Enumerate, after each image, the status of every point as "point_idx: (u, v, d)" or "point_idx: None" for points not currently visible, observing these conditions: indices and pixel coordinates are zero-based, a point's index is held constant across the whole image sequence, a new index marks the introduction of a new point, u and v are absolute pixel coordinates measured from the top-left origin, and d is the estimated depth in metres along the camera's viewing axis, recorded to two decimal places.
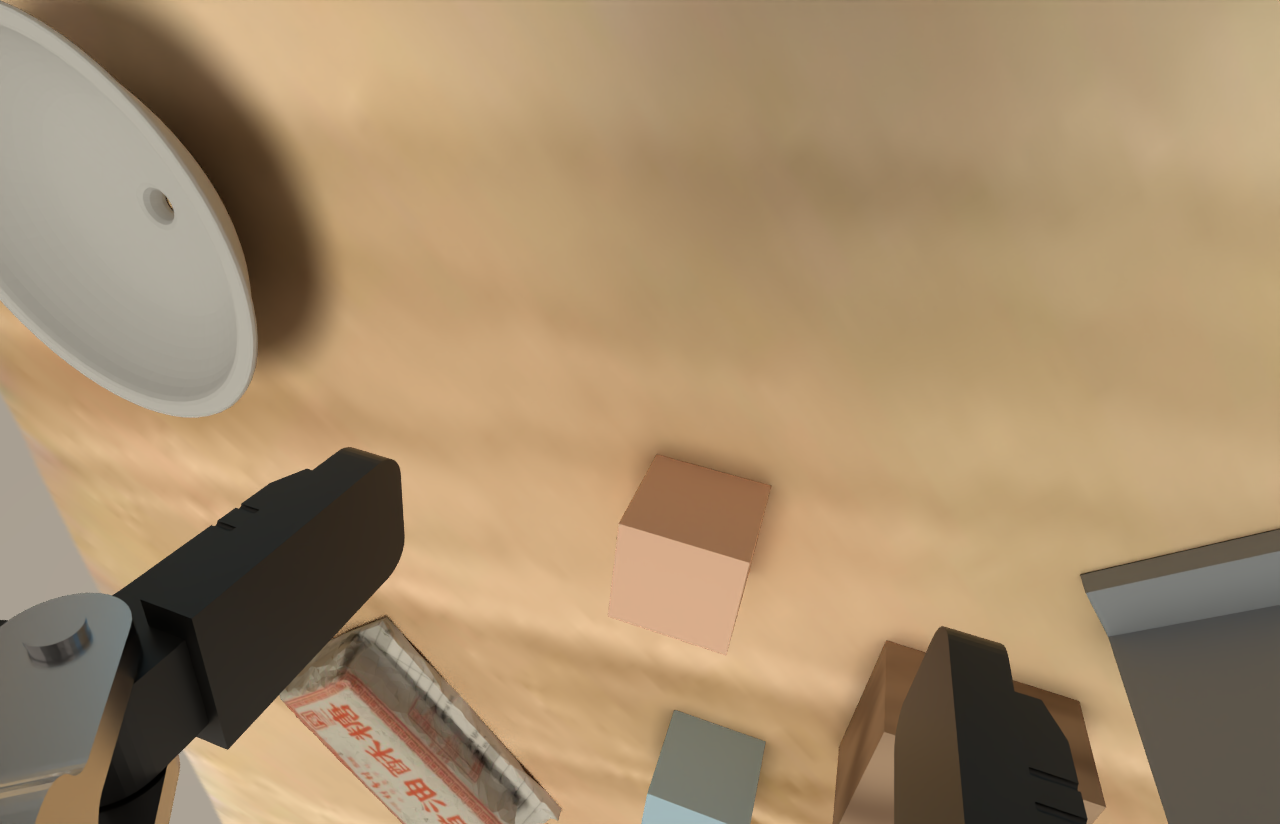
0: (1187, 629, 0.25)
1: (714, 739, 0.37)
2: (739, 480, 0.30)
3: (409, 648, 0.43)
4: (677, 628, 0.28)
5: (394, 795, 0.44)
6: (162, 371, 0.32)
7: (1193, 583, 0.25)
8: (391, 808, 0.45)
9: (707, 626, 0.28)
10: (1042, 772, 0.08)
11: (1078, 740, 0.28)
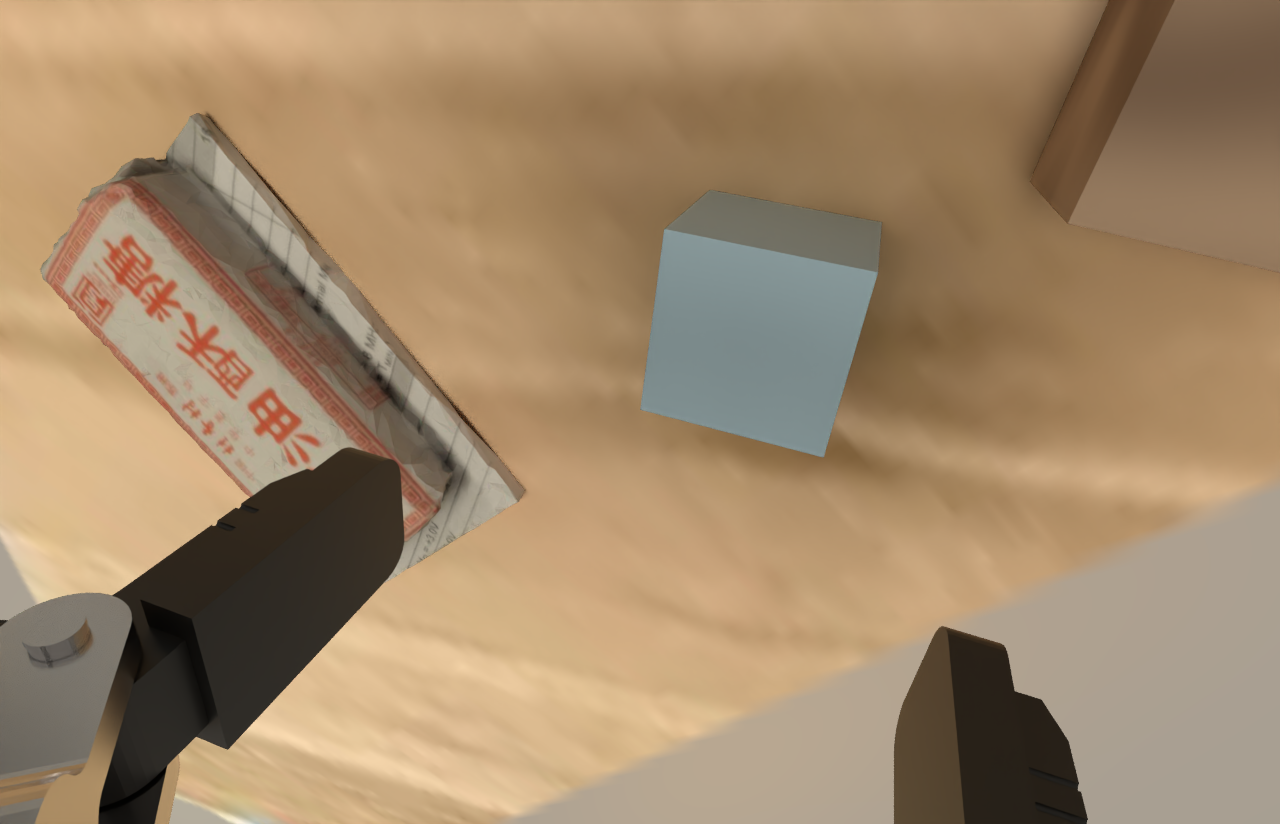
0: None
1: (787, 211, 0.20)
2: None
3: (249, 171, 0.25)
4: None
5: (239, 442, 0.26)
6: None
7: None
8: (239, 477, 0.27)
9: None
10: (1042, 772, 0.08)
11: None
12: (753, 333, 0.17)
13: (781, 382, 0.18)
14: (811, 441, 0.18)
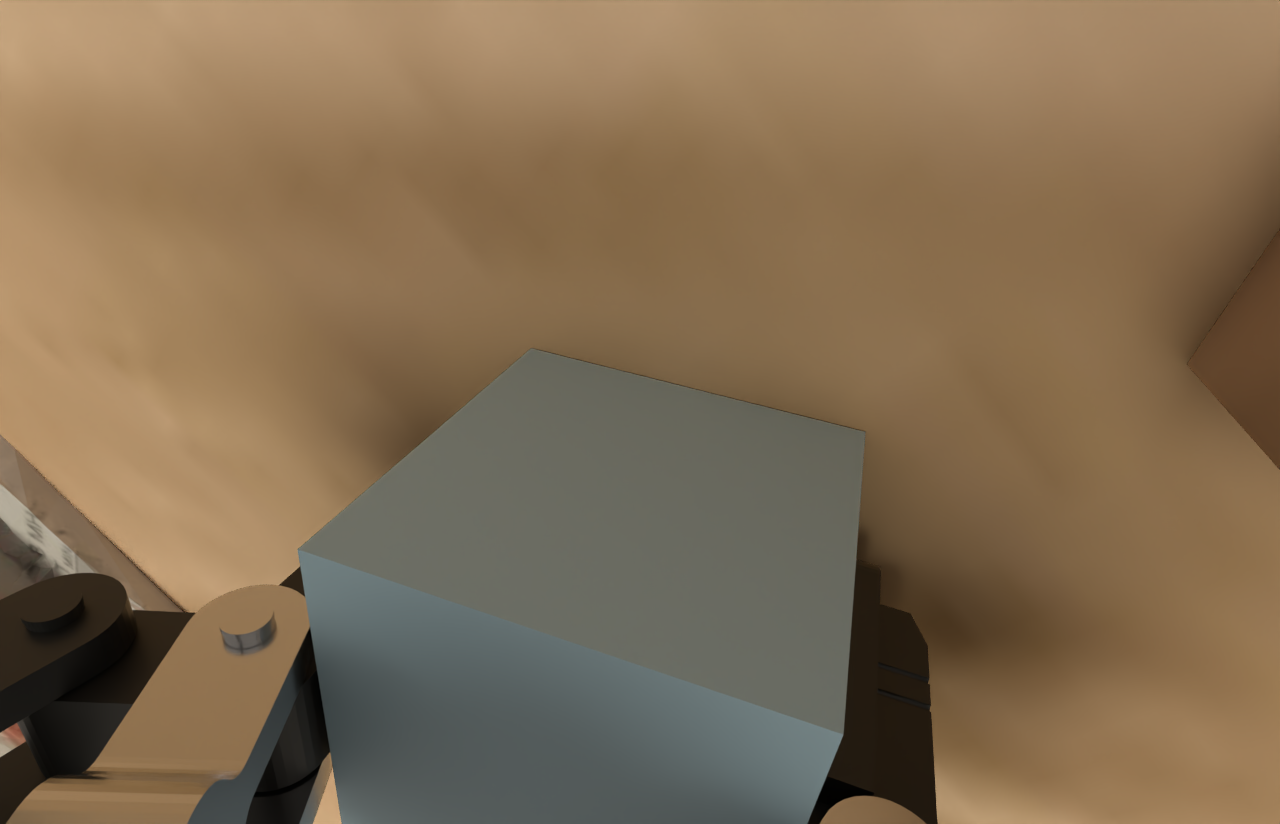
0: None
1: (666, 417, 0.09)
2: None
3: None
4: None
5: None
6: None
7: None
8: None
9: None
10: (898, 669, 0.09)
11: None
12: (543, 784, 0.07)
13: None
14: None
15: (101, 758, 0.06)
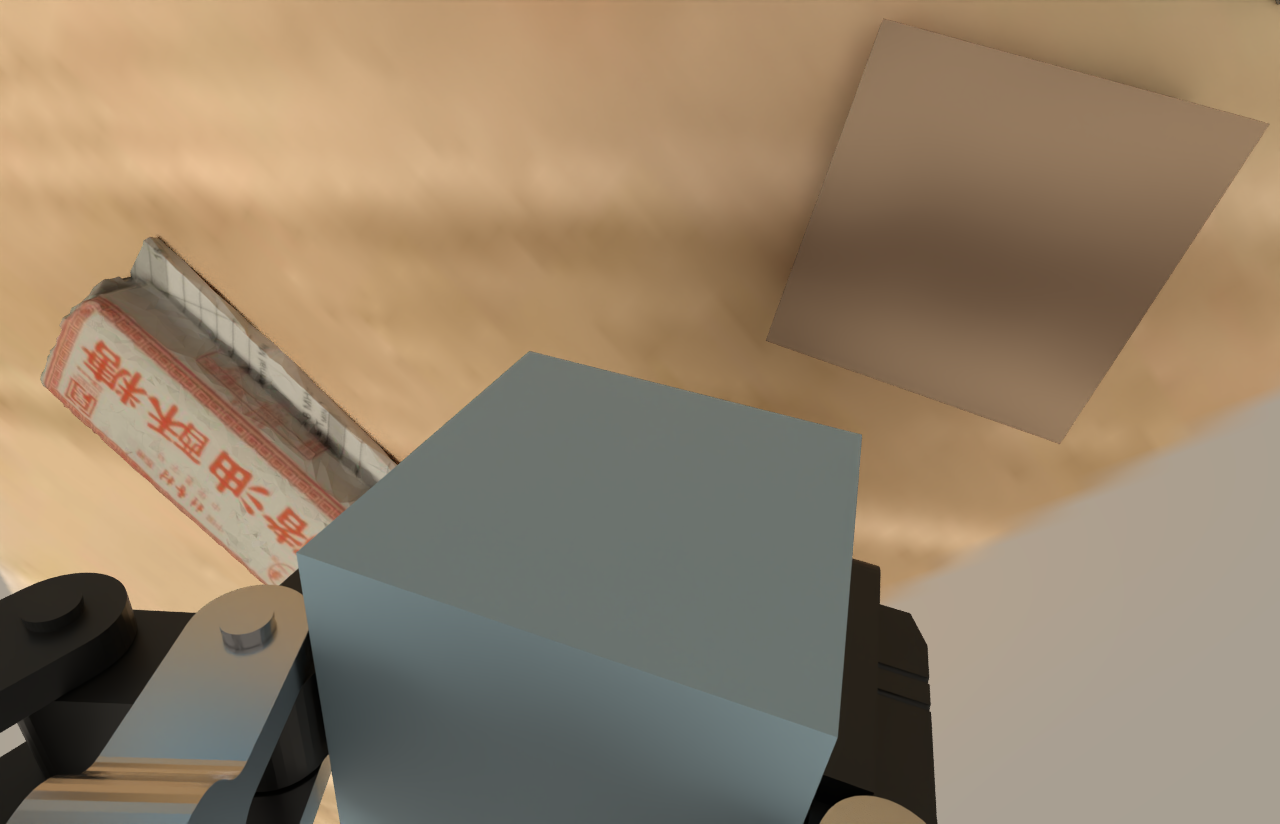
0: None
1: (664, 420, 0.09)
2: None
3: (195, 277, 0.31)
4: None
5: (206, 500, 0.31)
6: None
7: None
8: (212, 531, 0.32)
9: None
10: (897, 668, 0.09)
11: None
12: (540, 787, 0.07)
13: None
14: None
15: (101, 758, 0.06)
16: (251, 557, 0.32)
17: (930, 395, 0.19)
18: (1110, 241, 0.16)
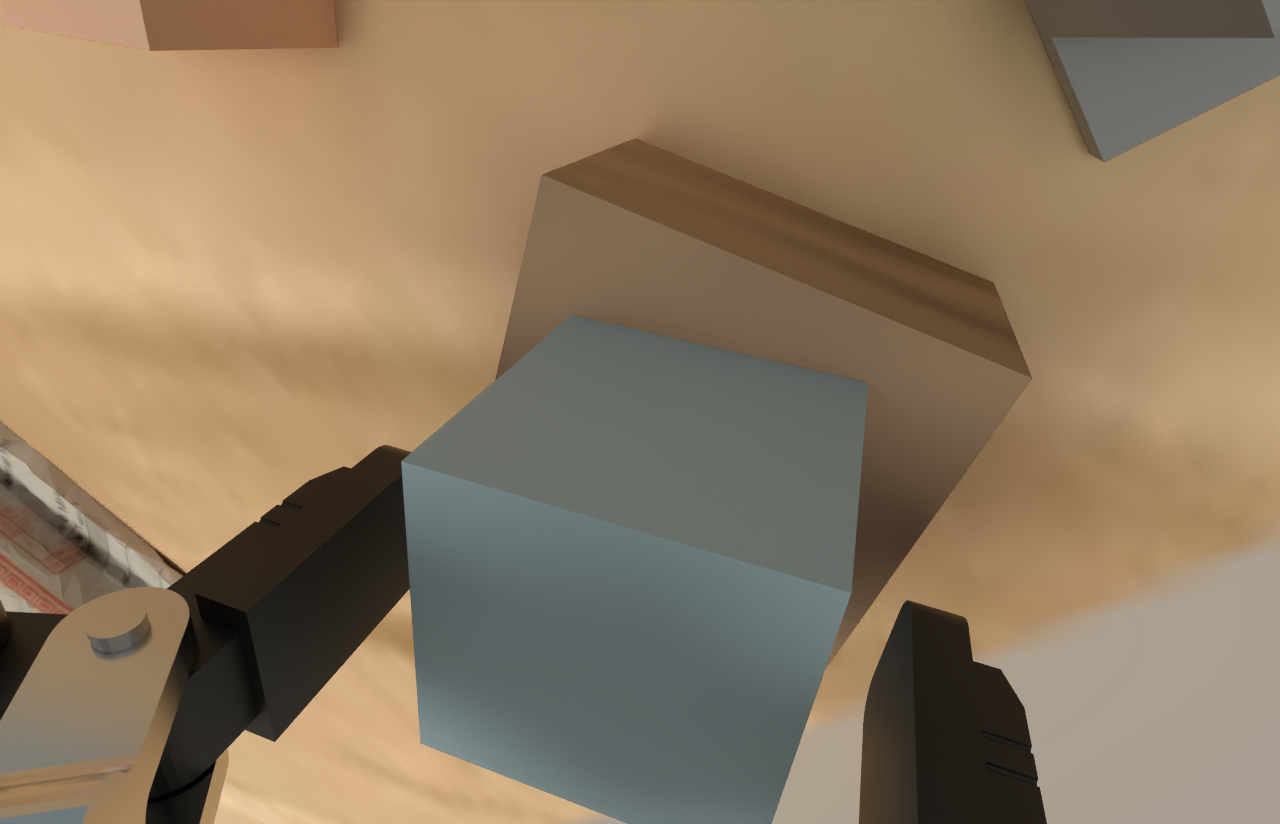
0: None
1: (695, 369, 0.11)
2: None
3: None
4: None
5: None
6: None
7: None
8: None
9: None
10: (997, 735, 0.08)
11: (984, 307, 0.13)
12: (600, 661, 0.08)
13: (663, 747, 0.09)
14: None
15: None
16: None
17: None
18: None
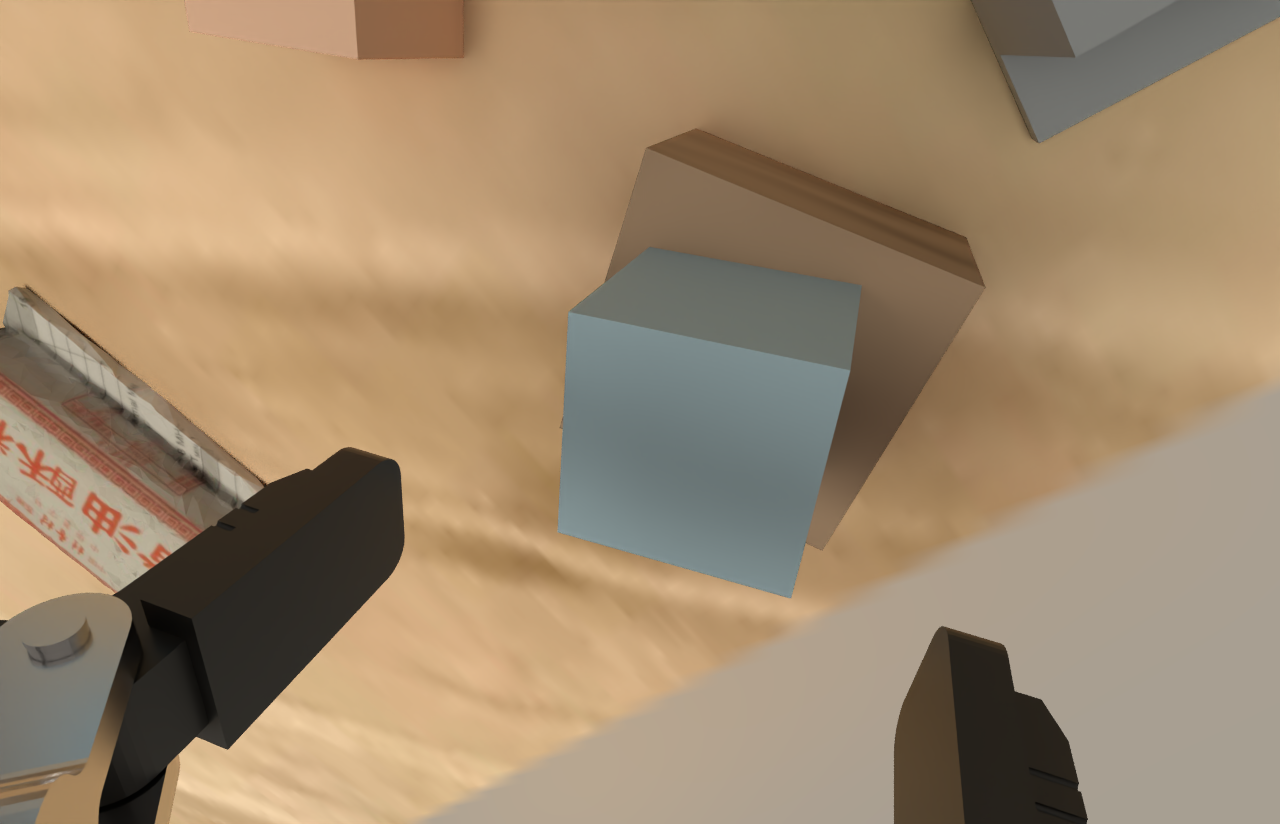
0: None
1: (741, 276, 0.16)
2: None
3: (62, 323, 0.31)
4: (281, 19, 0.17)
5: (85, 542, 0.32)
6: None
7: None
8: (96, 572, 0.32)
9: None
10: (1042, 772, 0.08)
11: (956, 249, 0.17)
12: (691, 444, 0.13)
13: (731, 505, 0.14)
14: (774, 578, 0.14)
15: None
16: None
17: None
18: (855, 374, 0.17)
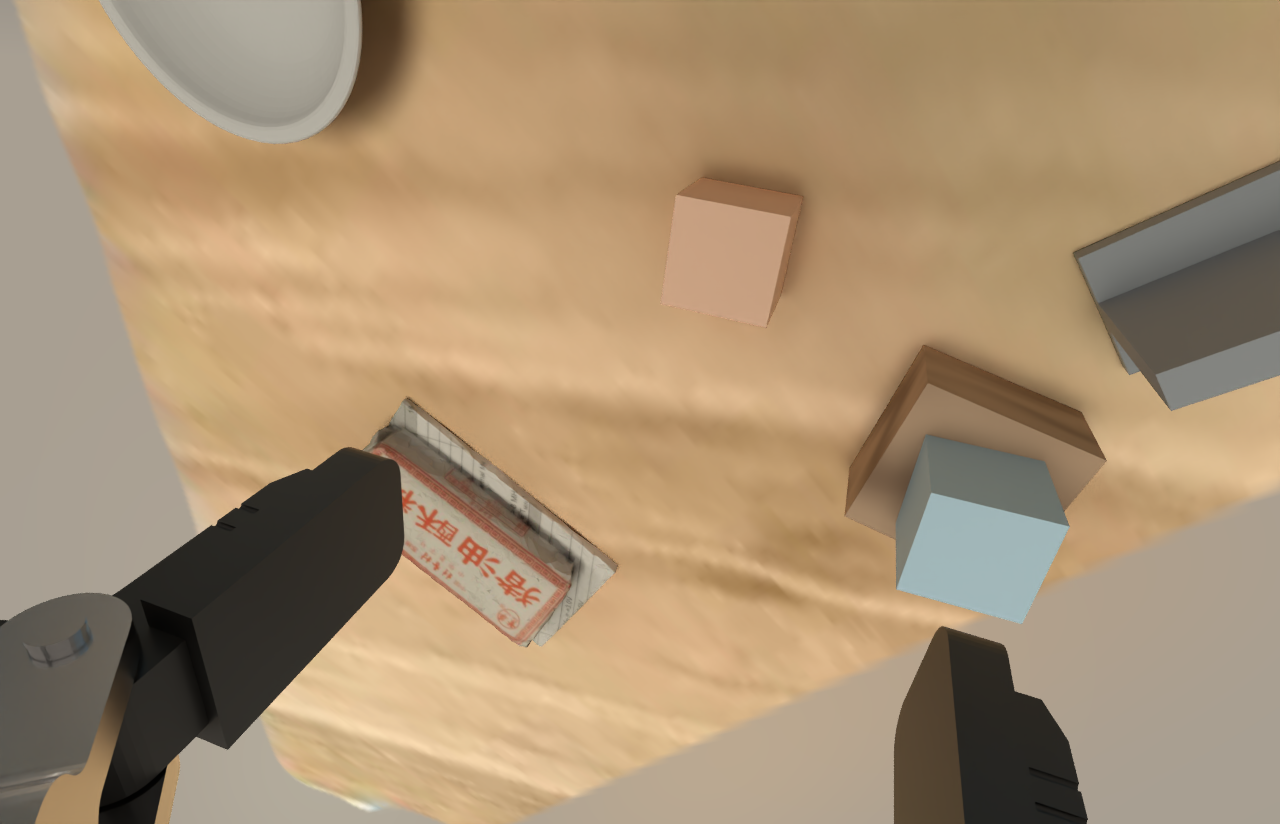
0: (1165, 279, 0.30)
1: (985, 457, 0.31)
2: (775, 192, 0.34)
3: (434, 422, 0.46)
4: (723, 305, 0.32)
5: (454, 570, 0.46)
6: (263, 108, 0.36)
7: (1169, 233, 0.29)
8: (457, 591, 0.47)
9: (750, 297, 0.32)
10: (1042, 772, 0.08)
11: (1082, 428, 0.32)
12: (983, 552, 0.28)
13: (998, 580, 0.29)
14: (1015, 614, 0.29)
15: None
16: (485, 606, 0.47)
17: None
18: None
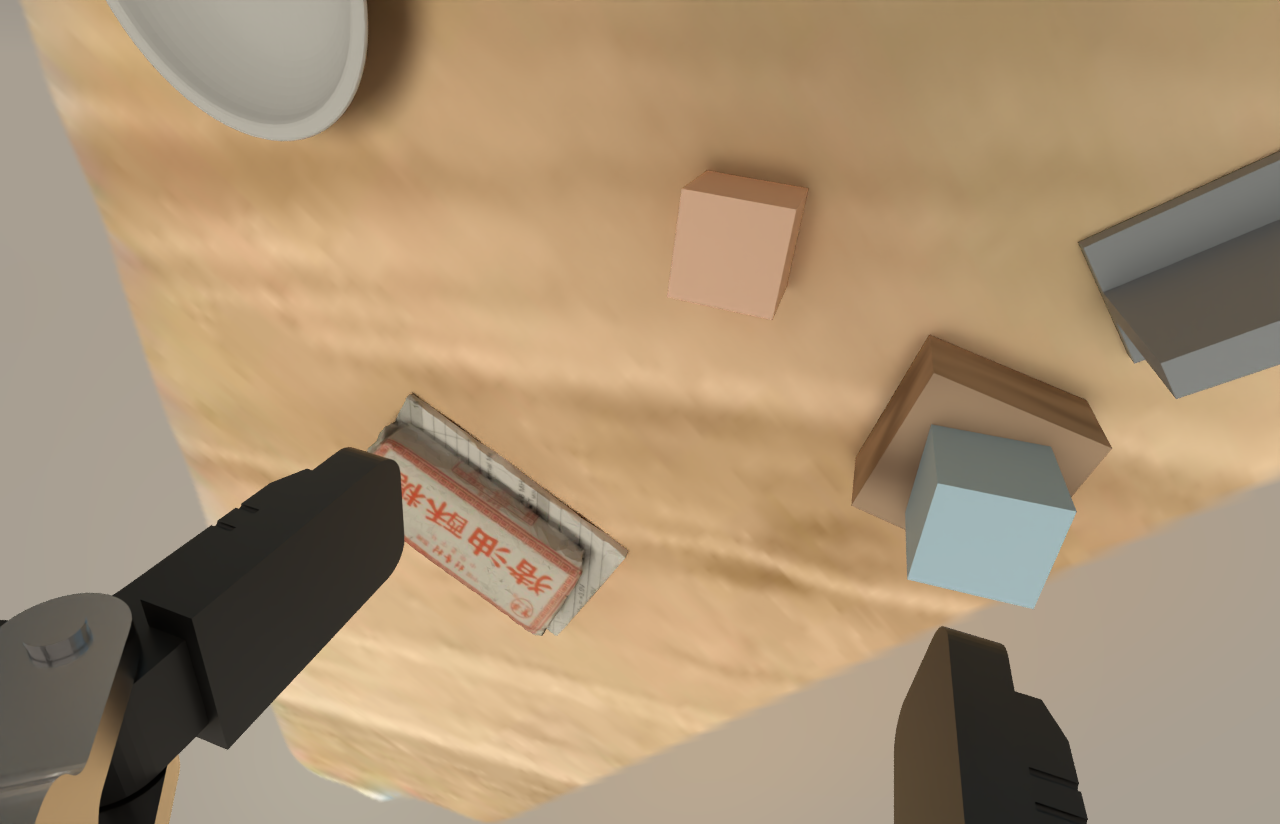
0: (1170, 268, 0.30)
1: (991, 445, 0.31)
2: (780, 184, 0.34)
3: (439, 416, 0.47)
4: (729, 298, 0.32)
5: (466, 562, 0.47)
6: (269, 105, 0.36)
7: (1174, 222, 0.29)
8: (469, 582, 0.47)
9: (756, 289, 0.32)
10: (1042, 772, 0.08)
11: (1087, 416, 0.33)
12: (991, 539, 0.28)
13: (1007, 566, 0.29)
14: (1026, 600, 0.29)
15: None
16: (498, 597, 0.47)
17: None
18: None
